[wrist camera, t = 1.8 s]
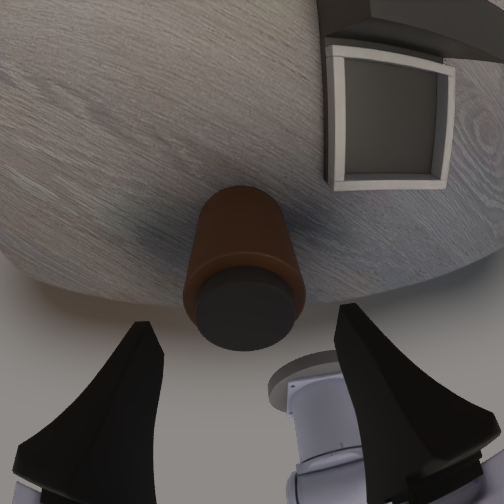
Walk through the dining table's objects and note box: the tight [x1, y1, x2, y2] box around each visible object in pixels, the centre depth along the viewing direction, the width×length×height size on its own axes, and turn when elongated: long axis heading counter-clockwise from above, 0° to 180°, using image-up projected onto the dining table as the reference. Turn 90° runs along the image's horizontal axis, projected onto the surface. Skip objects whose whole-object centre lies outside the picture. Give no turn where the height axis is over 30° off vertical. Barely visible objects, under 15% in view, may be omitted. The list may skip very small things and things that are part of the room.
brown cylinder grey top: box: [183, 186, 306, 351], centre depth 15 cm, size 5×5×8 cm
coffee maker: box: [317, 0, 504, 191], centre depth 11 cm, size 11×8×6 cm
